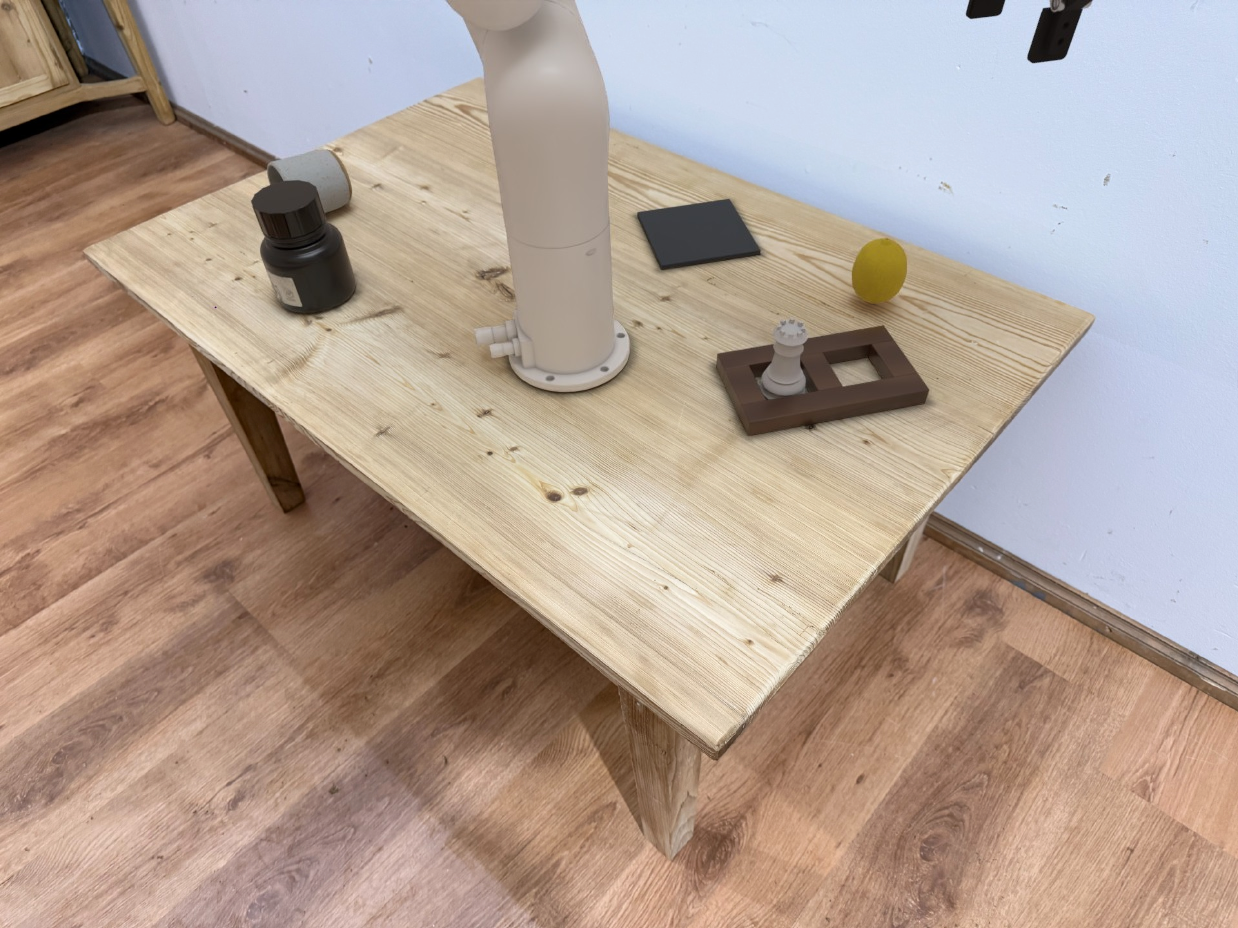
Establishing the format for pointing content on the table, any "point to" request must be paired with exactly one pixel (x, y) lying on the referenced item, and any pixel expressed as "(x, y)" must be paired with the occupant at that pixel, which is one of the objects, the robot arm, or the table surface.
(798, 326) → the rook chess piece
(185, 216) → the table surface
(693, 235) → the mat
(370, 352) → the table surface
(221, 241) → the table surface
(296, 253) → the ink bottle
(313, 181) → the ceramic mug
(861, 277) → the lemon
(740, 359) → the frame
